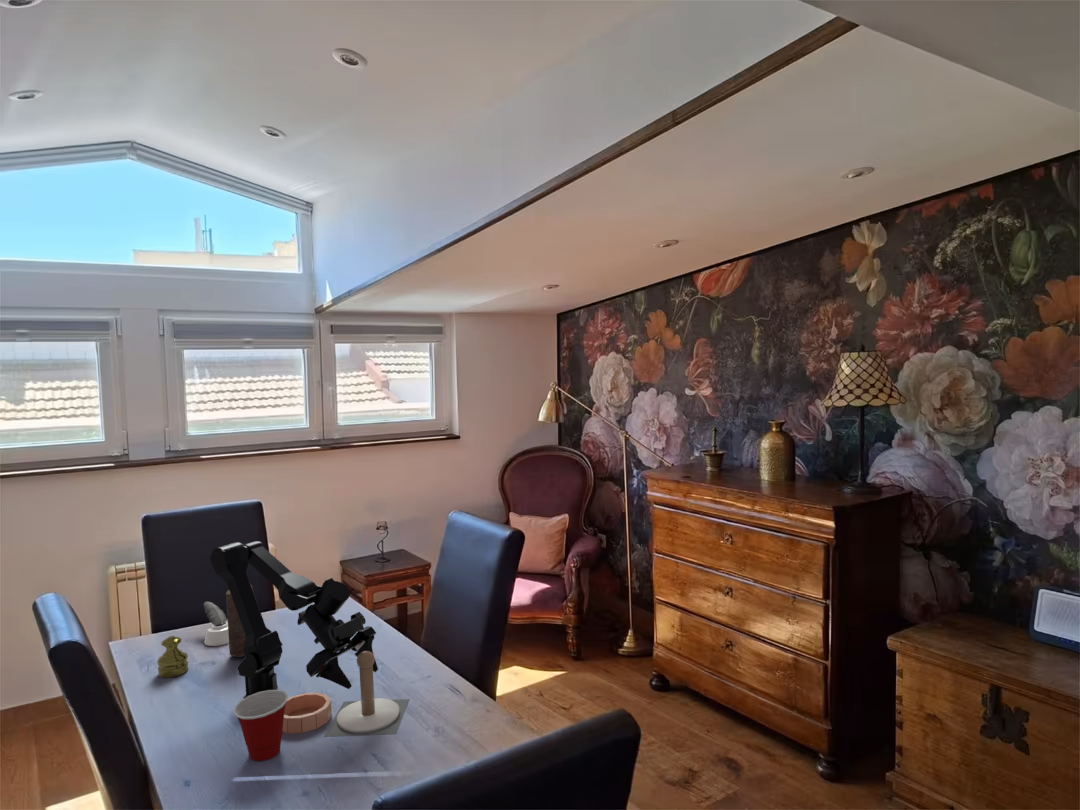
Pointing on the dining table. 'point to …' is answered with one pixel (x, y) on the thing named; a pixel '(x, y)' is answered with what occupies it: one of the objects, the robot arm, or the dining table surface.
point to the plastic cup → (262, 722)
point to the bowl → (306, 712)
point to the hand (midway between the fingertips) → (363, 679)
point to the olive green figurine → (172, 659)
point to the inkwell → (216, 626)
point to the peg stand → (367, 703)
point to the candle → (234, 628)
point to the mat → (391, 729)
